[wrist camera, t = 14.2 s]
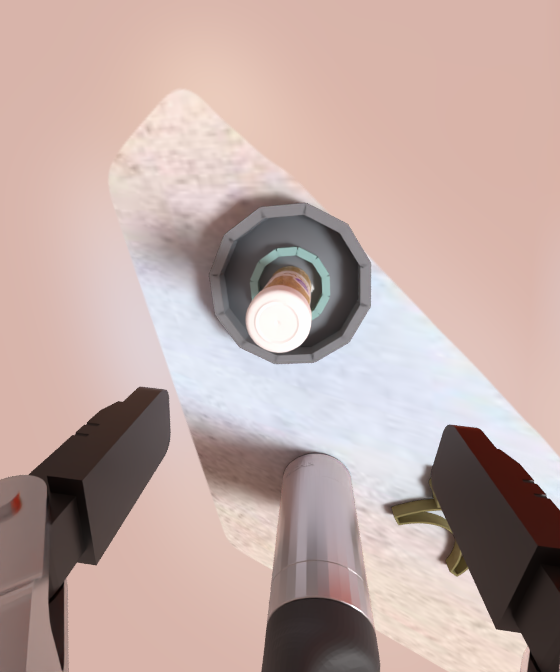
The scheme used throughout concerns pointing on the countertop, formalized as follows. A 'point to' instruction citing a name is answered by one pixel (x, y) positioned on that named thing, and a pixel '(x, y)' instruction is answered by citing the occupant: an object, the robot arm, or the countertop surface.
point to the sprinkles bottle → (281, 311)
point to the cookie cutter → (418, 514)
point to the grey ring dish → (302, 252)
